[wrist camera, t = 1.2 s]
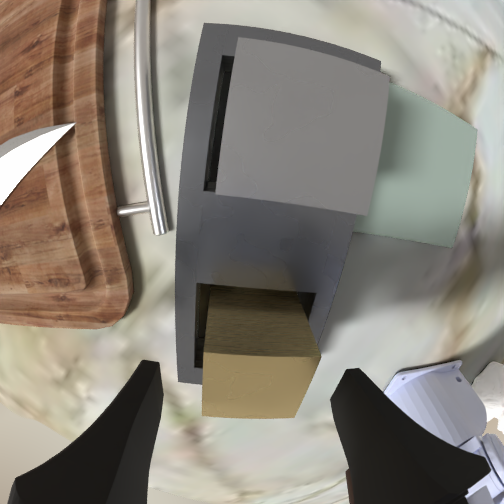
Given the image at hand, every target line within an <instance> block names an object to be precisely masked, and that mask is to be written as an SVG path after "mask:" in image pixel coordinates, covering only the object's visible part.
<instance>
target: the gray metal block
mask: <svg viewBox="0 0 504 504" xmlns="http://www.w3.org/2000/svg"><path fill="white" fill-rule="evenodd" d="M389 83H390V76H388V75H386V74H383V73H381V72H378V71H376V70H373V69H370V68H368V67H365V66H362V65H360V64H357V63H354V62H351V61H348V60H345V59H342V58H338V57H335V56H332V55H328V54H325V53H321V52H317V51H313V50H309V49H305V48H301V47H296V46H291V45H287V44H281V43H276V42H270V41H264V40H257V39H250V38H241V37H238V41H237V47H236V52H235V58H234V63H233V69H232V75H231V81H230V87H229V94H228V100H227V107H226V114H225V121H224V128H223V135H222V142H221V150H220V158H219V166H218V175H217V183H216V192H215V194H216V195H226V196H235V197H243V198H252V199H260V200H268V201H275V202H283V203H290V204H297V205H304V206H310V207H317V208H323V209H329V210H335V211H341V212H347V213H353V214H358V215H364V216H367V215H368V210H369V206H370V202H371V197H372V193H373V188H374V184H375V179H376V174H377V169H378V163H379V158H380V152H381V146H382V140H383V133H384V126H385V119H386V111H387V103H388V93H389Z"/></svg>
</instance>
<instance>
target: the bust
mask: <svg viewBox="0 0 504 504" xmlns="http://www.w3.org/2000/svg"><path fill="white" fill-rule="evenodd" d="M471 387H472V388H473V389H474V391H475V392H476V394H477V395H478V397H479V398H480V399H481V401H482V402H483V404H484V406H485V408H486V412H487V422H488V421H489V420H491V419H492V418H493V417H496V418H498V427H497V428H498V430H500V431H503V434H504V364H501V363H498V362H494V361H493V362H491V363H489V364H488V365H487V367H486V368H485V369H484V370H483V372H482V373H480V374H479V375H478V376H477V377H476V378H475V379H474V382H473V384H472V385H471Z"/></svg>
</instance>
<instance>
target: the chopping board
mask: <svg viewBox="0 0 504 504" xmlns="http://www.w3.org/2000/svg"><path fill="white" fill-rule="evenodd" d="M106 7H107V0H0V323H3V324H13V325H23V326H36V327H51V328H71V329H100V328H105V327H110V326H113V325H114V324H115V323H116V322H117V321H119V320H120V319H121V318H122V317H123V316H124V315H125V313H126V311H127V309H128V307H129V304H130V301H131V298H132V295H133V293H134V288H133V277H132V269H131V265H130V261H129V258H128V254H127V250H126V246H125V241H124V237H123V233H122V228H121V224H120V219H119V217H124V216H130V215H137V214H144V213H149V214H150V220H151V225H152V230H153V234H154V235H163V234H166V233H167V232H168V231H169V229H168V223H167V217H166V211H165V205H164V199H163V192H162V185H161V178H160V171H159V163H158V154H157V146H156V136H155V126H154V114H153V101H152V84H151V58H150V14H151V0H136V1H135V19H134V81H135V100H136V114H137V126H138V137H139V146H140V154H141V162H142V170H143V177H144V184H145V190H146V197H147V202H143V203H137V204H131V205H125V206H119V207H118V208H117V204H116V198H115V193H114V187H113V181H112V174H111V167H110V160H109V152H108V143H107V134H106V122H105V108H104V85H103V52H104V30H105V17H106Z"/></svg>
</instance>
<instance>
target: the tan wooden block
mask: <svg viewBox="0 0 504 504" xmlns="http://www.w3.org/2000/svg"><path fill="white" fill-rule="evenodd" d="M320 359H321V354H320V351H319V349H318V346H317V343H316V341H315V338H314V336H313V333H312V330H311V328H310V325H309V323H308V320H307V318H306V315H305V312H304V310H303V307H302V305H301V302H300V300H299V297H298V295H297V292H296V291H284V290H271V289H259V288H247V287H236V286H225V285H215V284H211V291H210V299H209V307H208V316H207V325H206V334H205V343H204V355H203V384H202V416H209V417H223V418H249V419H274V418H294V417H295V415H296V413H297V411H298V409H299V407H300V405H301V403H302V400H303V398H304V396H305V394H306V392H307V390H308V387H309V385H310V383H311V381H312V378H313V376H314V374H315V371H316V369H317V367H318V364H319V362H320Z"/></svg>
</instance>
